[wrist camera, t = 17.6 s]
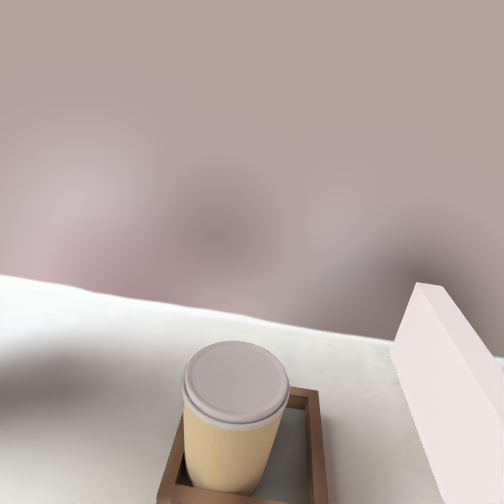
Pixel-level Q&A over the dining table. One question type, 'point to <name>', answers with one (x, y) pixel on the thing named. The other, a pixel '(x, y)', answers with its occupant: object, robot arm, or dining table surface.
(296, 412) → the wooden tray
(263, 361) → the coffee cup
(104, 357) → the dining table surface
